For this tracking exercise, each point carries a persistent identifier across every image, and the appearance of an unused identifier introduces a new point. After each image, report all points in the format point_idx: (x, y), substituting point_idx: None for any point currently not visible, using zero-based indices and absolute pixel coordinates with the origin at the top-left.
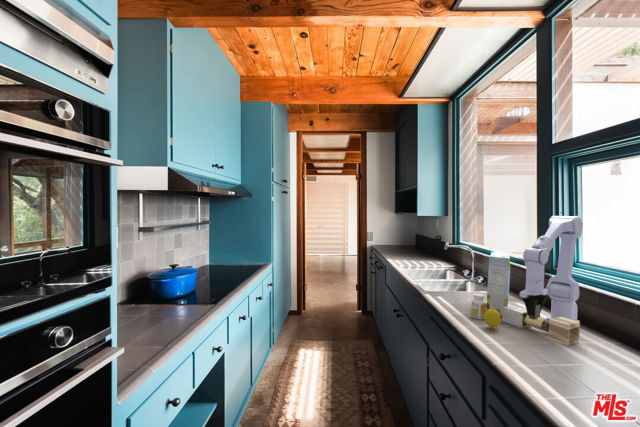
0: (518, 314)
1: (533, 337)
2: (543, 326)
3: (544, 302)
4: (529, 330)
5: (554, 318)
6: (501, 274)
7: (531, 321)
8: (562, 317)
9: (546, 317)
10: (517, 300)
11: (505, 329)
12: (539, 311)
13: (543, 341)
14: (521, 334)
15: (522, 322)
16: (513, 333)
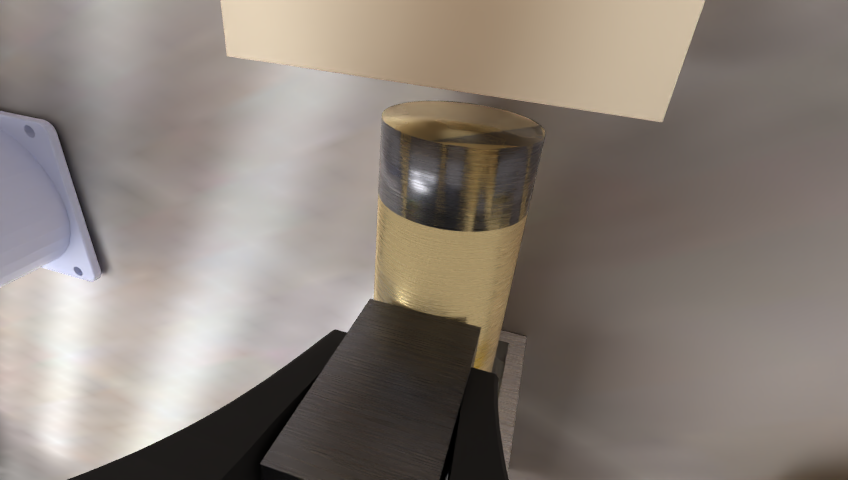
0: None
1: (748, 182)
2: (533, 184)
3: (141, 453)
4: (521, 276)
5: (487, 74)
6: None
7: (498, 327)
8: (240, 9)
9: (89, 279)
10: (20, 457)
11: (714, 418)
12: (348, 364)
13: (823, 49)
14: (749, 292)
15: (509, 374)
16: (791, 349)
